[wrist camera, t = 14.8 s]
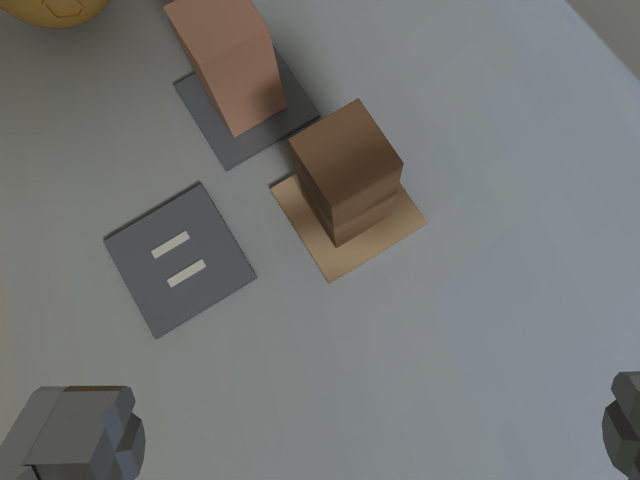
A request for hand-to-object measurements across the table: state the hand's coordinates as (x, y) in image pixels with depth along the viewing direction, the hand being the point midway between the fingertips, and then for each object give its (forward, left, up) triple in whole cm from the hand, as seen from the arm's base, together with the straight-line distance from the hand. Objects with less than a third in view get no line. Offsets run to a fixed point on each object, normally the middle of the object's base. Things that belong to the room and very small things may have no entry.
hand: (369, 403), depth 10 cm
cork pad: (-11, +6, -29) cm, 32 cm away
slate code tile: (-14, -6, -29) cm, 33 cm away
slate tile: (-22, +4, -29) cm, 37 cm away
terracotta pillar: (-22, +4, -29) cm, 36 cm away
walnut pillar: (-11, +6, -29) cm, 31 cm away
